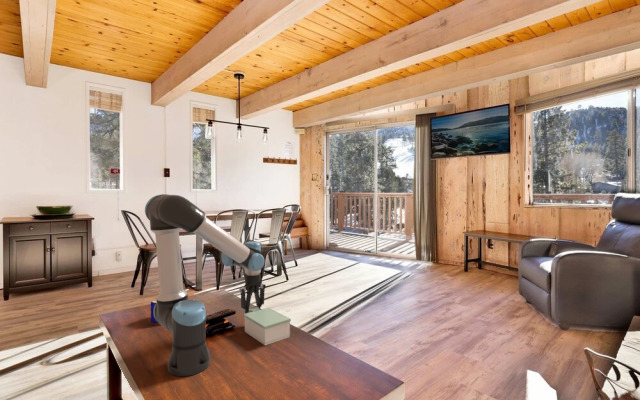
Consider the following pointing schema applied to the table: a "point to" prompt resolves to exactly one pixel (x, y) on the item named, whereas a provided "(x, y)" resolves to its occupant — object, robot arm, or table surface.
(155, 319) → the puzzle cube
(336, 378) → the table surface
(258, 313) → the lid
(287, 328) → the tub
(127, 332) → the table surface
